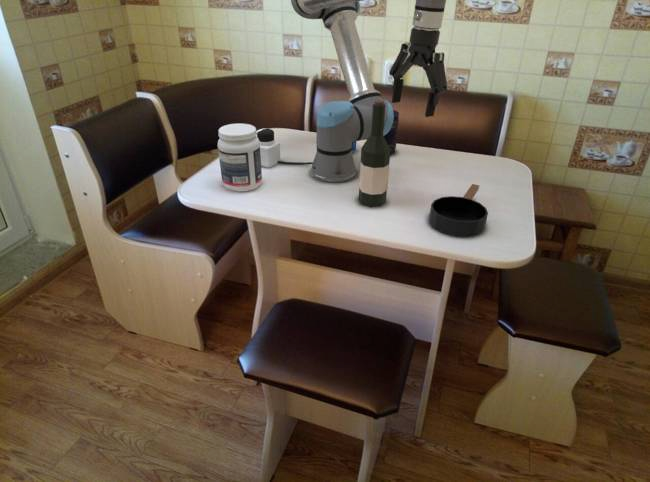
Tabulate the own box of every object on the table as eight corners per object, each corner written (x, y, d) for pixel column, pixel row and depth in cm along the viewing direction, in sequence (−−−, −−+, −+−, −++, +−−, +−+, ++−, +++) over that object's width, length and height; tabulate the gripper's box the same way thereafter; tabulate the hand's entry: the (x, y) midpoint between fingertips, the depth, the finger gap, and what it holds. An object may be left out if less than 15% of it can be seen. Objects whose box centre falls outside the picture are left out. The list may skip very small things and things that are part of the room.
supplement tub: (245, 173, 154) (241, 119, 145) (270, 184, 147) (267, 129, 137) (214, 184, 146) (207, 128, 137) (238, 197, 139) (233, 139, 129)
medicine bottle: (281, 161, 163) (279, 129, 157) (268, 168, 158) (266, 134, 152) (265, 157, 166) (263, 125, 160) (252, 163, 161) (250, 130, 155)
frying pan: (476, 242, 118) (480, 227, 116) (421, 227, 125) (423, 213, 122) (497, 203, 138) (501, 189, 135) (449, 192, 144) (451, 178, 141)
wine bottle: (384, 208, 134) (393, 106, 118) (356, 205, 135) (362, 104, 119) (386, 196, 141) (396, 98, 125) (360, 193, 142) (366, 96, 126)
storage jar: (365, 153, 171) (368, 114, 163) (374, 145, 179) (377, 107, 171) (391, 158, 168) (395, 118, 160) (398, 149, 175) (402, 111, 167)
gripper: (383, 20, 125) (373, 98, 136) (452, 37, 108) (434, 124, 120) (403, 20, 128) (392, 95, 140) (473, 36, 112) (453, 120, 124)
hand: (411, 109), depth 130 cm, fingers open, 13 cm apart
